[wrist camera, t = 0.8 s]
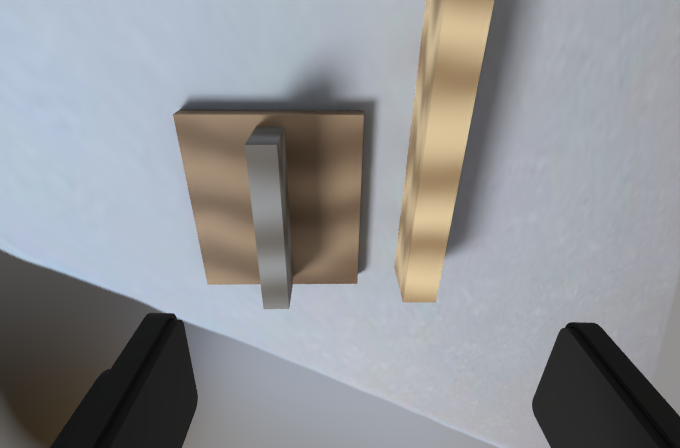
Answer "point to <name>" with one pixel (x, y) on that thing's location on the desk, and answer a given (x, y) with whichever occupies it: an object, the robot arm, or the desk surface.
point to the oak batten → (438, 138)
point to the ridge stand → (274, 196)
